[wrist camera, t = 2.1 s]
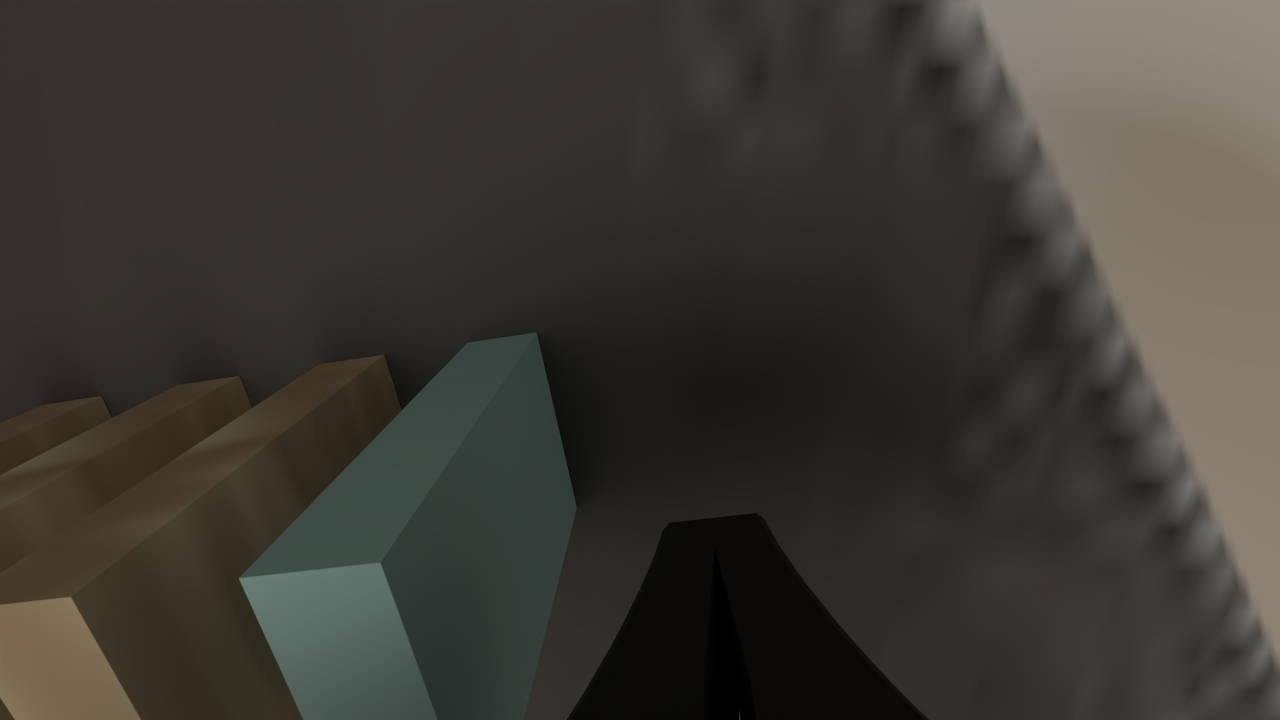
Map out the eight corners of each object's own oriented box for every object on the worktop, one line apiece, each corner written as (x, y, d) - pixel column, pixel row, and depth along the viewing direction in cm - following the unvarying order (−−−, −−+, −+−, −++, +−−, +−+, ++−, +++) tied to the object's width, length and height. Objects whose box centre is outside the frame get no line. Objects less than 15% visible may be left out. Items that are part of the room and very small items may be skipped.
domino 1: (239, 375, 15) (-210, 627, 7) (305, 539, 16) (-9, 888, 9) (177, 384, 15) (-323, 640, 7) (248, 546, 16) (-109, 894, 9)
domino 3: (536, 332, 14) (380, 562, 7) (576, 507, 16) (487, 858, 8) (468, 342, 14) (239, 577, 7) (514, 515, 16) (370, 866, 8)
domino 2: (384, 354, 14) (71, 596, 7) (438, 523, 16) (229, 874, 8) (318, 364, 15) (-58, 611, 7) (378, 531, 16) (120, 880, 9)
